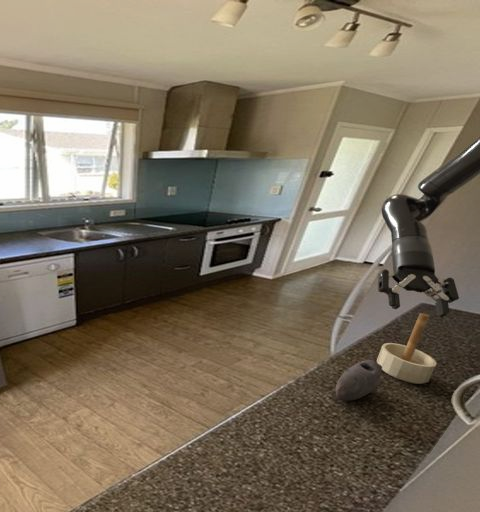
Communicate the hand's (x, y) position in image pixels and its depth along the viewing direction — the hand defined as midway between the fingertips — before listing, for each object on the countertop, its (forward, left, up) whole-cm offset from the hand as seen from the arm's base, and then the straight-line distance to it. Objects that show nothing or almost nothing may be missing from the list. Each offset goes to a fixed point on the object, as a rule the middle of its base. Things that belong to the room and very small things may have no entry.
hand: (418, 311), depth 72 cm
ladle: (+1, +2, -16) cm, 16 cm away
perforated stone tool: (+11, +20, -17) cm, 28 cm away
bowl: (0, +2, -17) cm, 17 cm away
